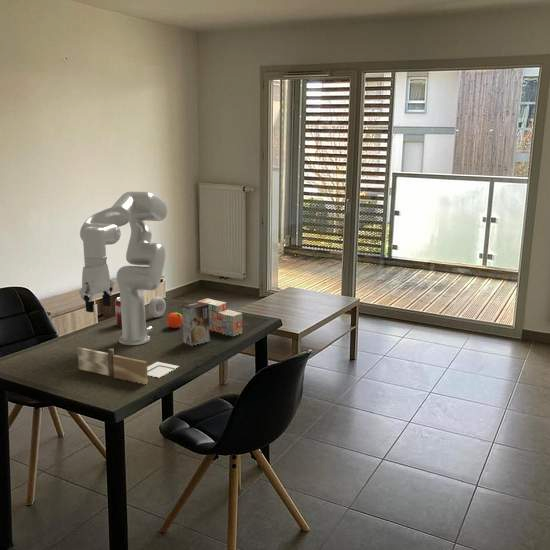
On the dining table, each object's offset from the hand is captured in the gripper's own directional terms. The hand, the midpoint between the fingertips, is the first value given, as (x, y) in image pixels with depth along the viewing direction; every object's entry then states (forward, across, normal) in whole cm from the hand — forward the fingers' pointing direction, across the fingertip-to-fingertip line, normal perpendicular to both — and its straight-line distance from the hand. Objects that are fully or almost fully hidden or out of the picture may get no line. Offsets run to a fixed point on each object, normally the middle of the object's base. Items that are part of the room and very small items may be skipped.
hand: (98, 308), depth 228 cm
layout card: (+22, -6, +21) cm, 31 cm away
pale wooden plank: (+22, +6, +2) cm, 23 cm away
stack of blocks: (+22, -56, +16) cm, 62 cm away
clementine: (+22, -50, -3) cm, 55 cm away
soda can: (+22, -43, -26) cm, 55 cm away
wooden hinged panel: (+22, +6, +17) cm, 29 cm away
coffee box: (+22, -38, +16) cm, 47 cm away
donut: (+22, -59, -20) cm, 66 cm away
